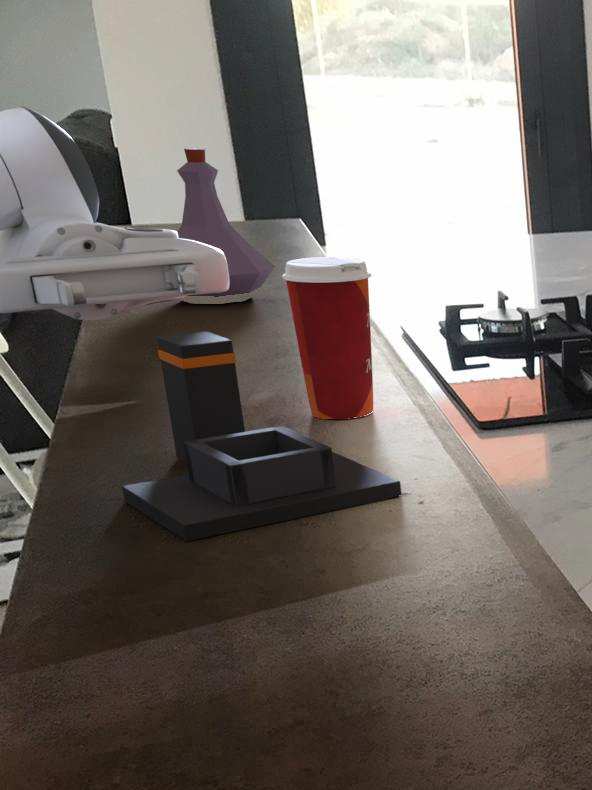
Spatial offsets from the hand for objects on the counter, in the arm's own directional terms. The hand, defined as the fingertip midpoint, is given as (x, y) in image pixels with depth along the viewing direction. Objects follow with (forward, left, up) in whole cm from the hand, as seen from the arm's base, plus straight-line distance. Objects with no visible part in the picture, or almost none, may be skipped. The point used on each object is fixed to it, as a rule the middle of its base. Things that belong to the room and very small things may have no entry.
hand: (135, 289), depth 109 cm
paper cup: (+14, +6, -13) cm, 20 cm away
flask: (-17, +73, -13) cm, 76 cm away
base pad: (+14, -21, -12) cm, 28 cm away
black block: (+7, -10, -12) cm, 17 cm away
